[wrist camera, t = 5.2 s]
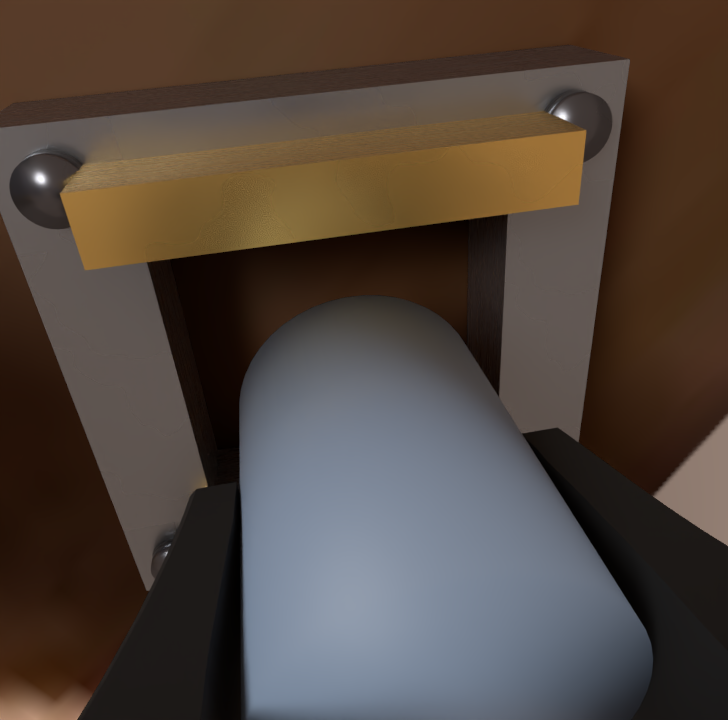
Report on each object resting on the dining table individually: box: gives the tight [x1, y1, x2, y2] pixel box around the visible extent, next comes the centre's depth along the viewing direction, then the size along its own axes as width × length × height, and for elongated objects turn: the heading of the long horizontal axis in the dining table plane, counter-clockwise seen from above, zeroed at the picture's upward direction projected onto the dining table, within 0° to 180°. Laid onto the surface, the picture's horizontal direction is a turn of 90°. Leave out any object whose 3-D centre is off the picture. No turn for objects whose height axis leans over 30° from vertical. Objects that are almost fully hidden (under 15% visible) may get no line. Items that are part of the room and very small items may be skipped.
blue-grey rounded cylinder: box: [239, 295, 653, 720], centre depth 9 cm, size 4×4×6 cm
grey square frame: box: [0, 45, 630, 591], centre depth 14 cm, size 11×11×4 cm
